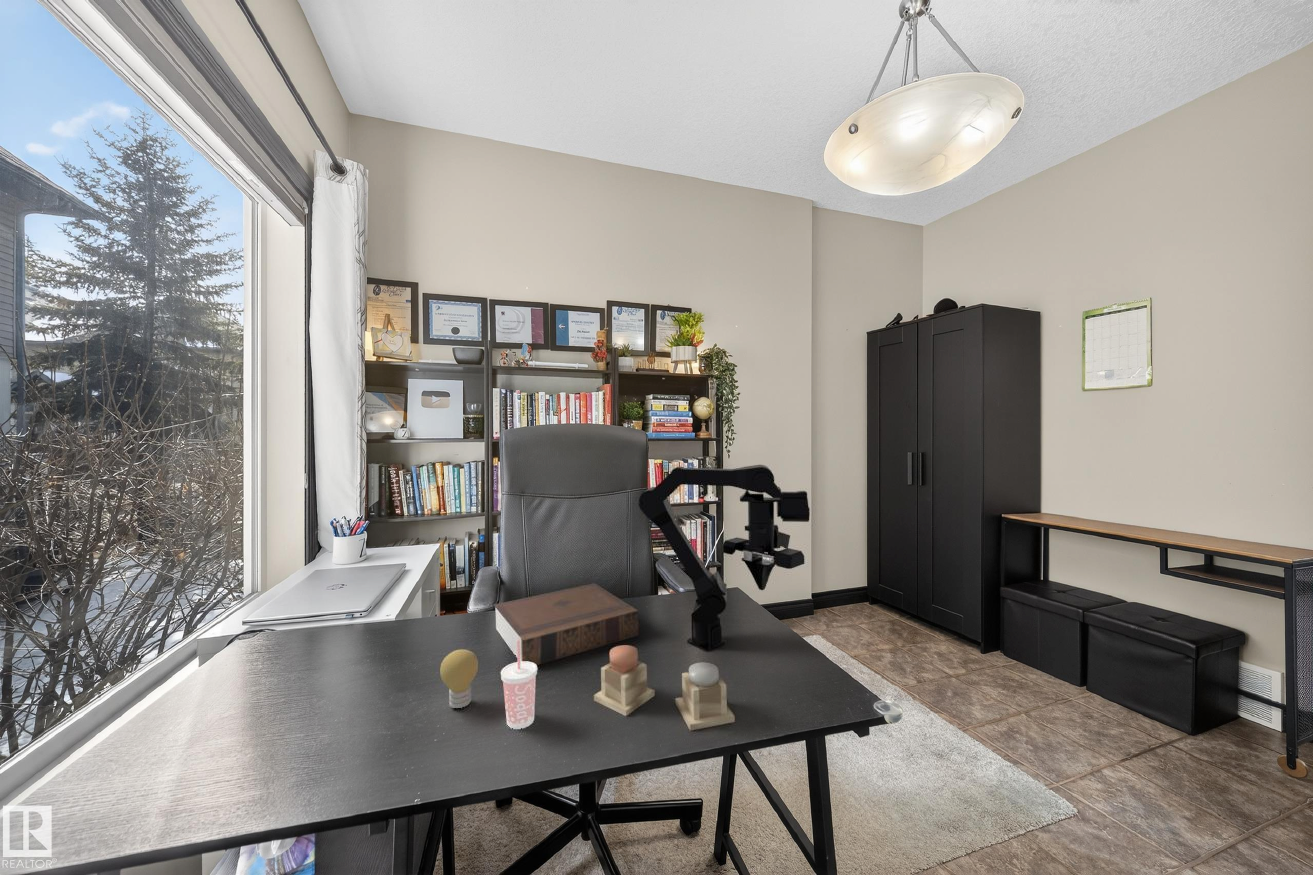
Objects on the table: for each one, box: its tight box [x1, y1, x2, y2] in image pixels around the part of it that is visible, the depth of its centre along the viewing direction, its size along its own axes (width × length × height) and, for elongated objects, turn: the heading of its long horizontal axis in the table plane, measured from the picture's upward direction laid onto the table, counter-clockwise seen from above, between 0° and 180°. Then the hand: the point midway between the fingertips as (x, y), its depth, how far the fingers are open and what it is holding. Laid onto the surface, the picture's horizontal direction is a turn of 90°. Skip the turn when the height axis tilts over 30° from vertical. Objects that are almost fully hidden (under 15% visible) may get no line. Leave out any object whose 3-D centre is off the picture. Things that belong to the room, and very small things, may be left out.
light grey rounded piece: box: [688, 662, 720, 687], centre depth 85 cm, size 5×5×6 cm
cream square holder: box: [593, 660, 656, 717], centre depth 90 cm, size 8×8×6 cm
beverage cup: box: [500, 641, 538, 730], centre depth 83 cm, size 6×6×14 cm
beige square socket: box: [675, 671, 736, 731], centre depth 85 cm, size 8×8×6 cm
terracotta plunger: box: [609, 644, 639, 674], centre depth 90 cm, size 5×5×6 cm
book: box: [493, 582, 639, 666], centre depth 119 cm, size 24×28×6 cm
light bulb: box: [439, 649, 479, 709], centre depth 88 cm, size 6×6×10 cm
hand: (761, 589), depth 109 cm, fingers closed
